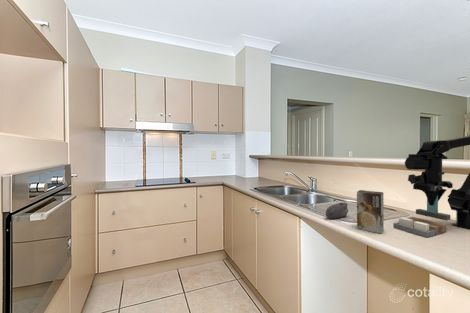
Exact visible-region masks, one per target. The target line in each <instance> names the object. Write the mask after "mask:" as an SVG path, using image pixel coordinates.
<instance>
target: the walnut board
mask: <svg viewBox="0 0 470 313" xmlns="http://www.w3.org/2000/svg"><path fill="white" fill-rule="evenodd" d="M407 218H408V219H412V220H413V224H414V222H416V221H418V222H422V223H426V224H429V229H433V230H435V236H438V235H441V234H444V233H445V234H446V233H447V224H446V223H440V222H437V221H432V220H429V219H423V218H420V217H414V216H409V217H407Z"/></svg>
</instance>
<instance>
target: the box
mask: <svg viewBox="0 0 470 313" xmlns="http://www.w3.org/2000/svg"><path fill="white" fill-rule="evenodd" d="M392 224H393V225H392V226H393V229H396V230H399V231H403V232H406V233H409V234H412V235H413V234H414V235H416V236H419V237H423V238H426V239H427V238H431V237H434V236H436V235H435V230H433V229H429V231H427V232H425V231H421V230H417V229H414V224H413V228H410V227H407V226H403V225H399V221H397V222H394V223H392Z"/></svg>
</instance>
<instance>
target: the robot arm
mask: <svg viewBox="0 0 470 313" xmlns="http://www.w3.org/2000/svg"><path fill="white" fill-rule="evenodd" d="M467 146H470V134H469V135H466V136H465V135H464V136H460V137H455V138H450V139H447V140H446V139H445V140H443V139H442V140H427V141H424V142H423V143H422V144H421V147H420V148H419V150H417V152H416V153H415V154H414V153H413V154H412V153H411V154H410V153H408V156H407V157H406V159H405V160H404V166H405V167H406V169H407V170H409V171H411V170H413V171H415V170H416V171H417V170H422V171H421V174H420V175H416V174H415V173H414V174H408V176H407V182H410V184H411V185H412V188H413V190H418V191H422V192H423V193H424V195H425V196H426V200H427V199H428V202H429V204H430V205H434V203H435V200H436V198H437V196H438V202H439V201H440V199H441V198H442V196H444V194H445V192H446V191H448V190H447V189H451V191H450V193H449V194H448V195H447V203H448V205H449V207H450V208H449V209H450V210H452V211H455V212H456V213H455V214H456V216H455V220H456V222H453V223H452V226H456V227H460V228H465V229H468V230H470V172H469V173H468V175H467V176H466V178H465V180H464V181H463V183H462V185H461V187H460V188H458V189H456V188H453V187H454V185H453V182H451V181H449V180H443V176H444V175H445V172H444V171H443V160H447V159H449V158H448V157H447V156H446V155H445V154H444V153H447V152H449V151H450V150H452V149H456V148H462V147H467ZM423 170H424V171H423ZM446 188H447V189H446Z"/></svg>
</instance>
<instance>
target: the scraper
mask: <svg viewBox="0 0 470 313" xmlns="http://www.w3.org/2000/svg"><path fill="white" fill-rule="evenodd" d="M415 214H416V215H419V216H422V217H423V216H424V217H428V218H433V219H439V220H442V221H450V220H451V217H452V216H451V214H448V213H442V212H439V201H438V196H437V198H436V200H435V203H434V205H430V204H429V202H428V199H427V198H426V209H424V208H423V209H422V208H417V209H415Z"/></svg>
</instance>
